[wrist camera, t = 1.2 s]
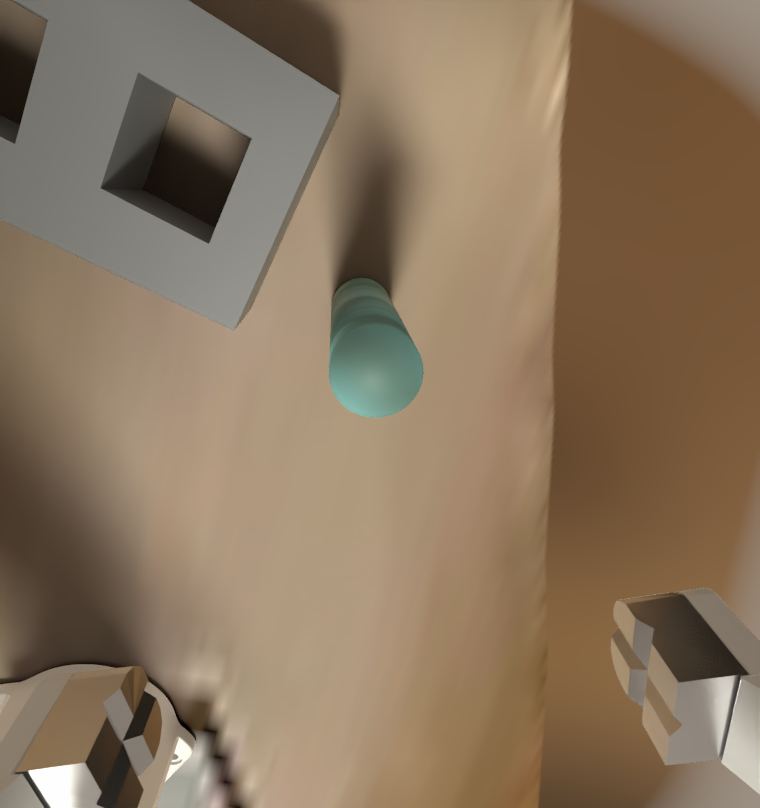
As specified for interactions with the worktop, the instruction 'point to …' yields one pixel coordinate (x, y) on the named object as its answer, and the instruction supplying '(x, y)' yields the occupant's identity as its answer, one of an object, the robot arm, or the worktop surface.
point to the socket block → (138, 142)
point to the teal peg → (371, 351)
